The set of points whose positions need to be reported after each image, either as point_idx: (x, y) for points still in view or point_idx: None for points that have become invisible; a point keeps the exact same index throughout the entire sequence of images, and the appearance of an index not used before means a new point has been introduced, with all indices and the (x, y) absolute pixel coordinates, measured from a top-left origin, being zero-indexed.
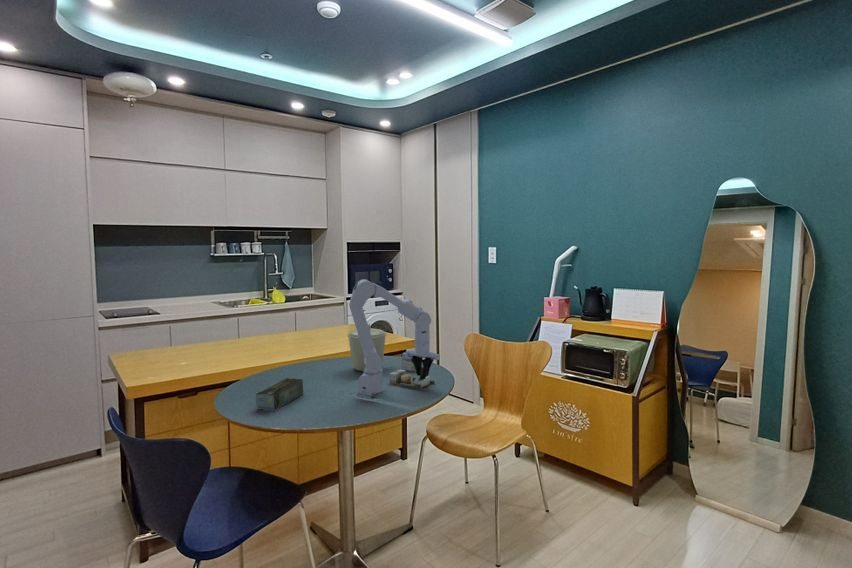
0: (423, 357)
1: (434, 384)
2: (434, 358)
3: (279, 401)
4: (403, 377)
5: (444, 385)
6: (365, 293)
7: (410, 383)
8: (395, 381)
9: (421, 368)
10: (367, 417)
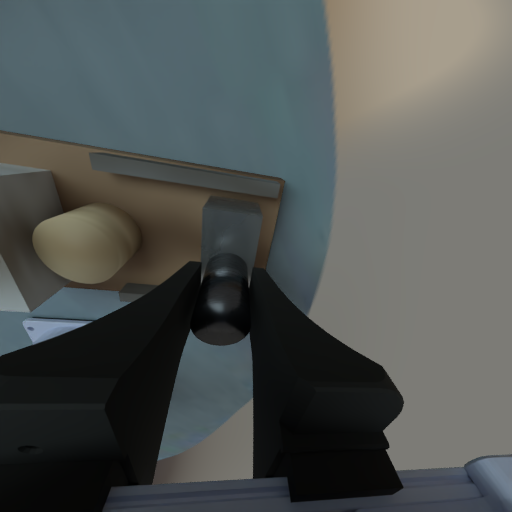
0: (236, 498)
1: (280, 194)
2: (443, 499)
3: None
4: (91, 281)
5: (320, 108)
6: None
7: (140, 232)
8: (67, 282)
9: (220, 339)
10: (207, 429)
